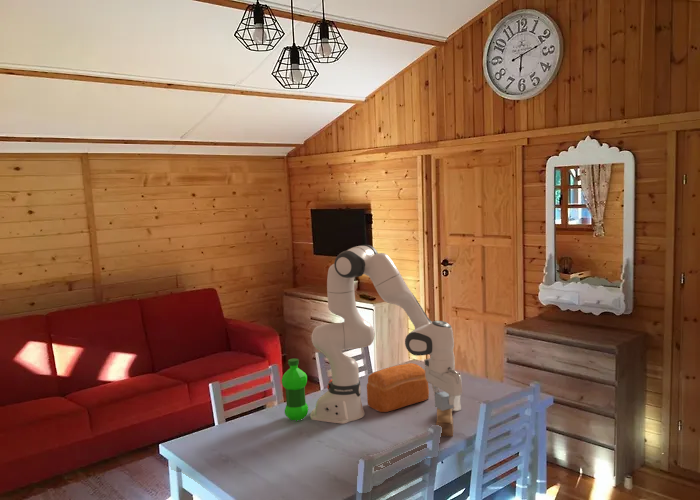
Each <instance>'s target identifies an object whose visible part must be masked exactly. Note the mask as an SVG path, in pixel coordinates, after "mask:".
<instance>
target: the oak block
mask: <svg viewBox="0 0 700 500" xmlns="http://www.w3.org/2000/svg"><path fill="white" fill-rule="evenodd" d="M452 417H453V411H452V409H448V410H443V411H442V410H440V409H438V408H437V407H436V421H437V422H438V423H451V421H452Z"/></svg>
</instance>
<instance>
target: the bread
mask: <svg viewBox="0 0 700 500" xmlns="http://www.w3.org/2000/svg"><path fill="white" fill-rule="evenodd" d="M429 387H430V386H429V383H428V382H427V380H426V377H425V368H423V367H422V366H420V365H418V364H416V363H414V362H413V363H412V362H410V363H405V364H398V365H394V366H390V367H385V368H383V369H380V370H378V371H375V372H372V373H370V374H369V375H368V377H367V384H366V398H367V399H366V400H367V405H368V407H369V408H371V409H373V410H375V411H376V412H379V413H387V412H392V411H395V410H398V409H401V408H404V407H407V406H412V405H414V404H418V403H420V402H423V401H427V400H428V399H429V396H430V394H429V392H430V390H429Z"/></svg>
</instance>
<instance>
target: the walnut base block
mask: <svg viewBox="0 0 700 500" xmlns="http://www.w3.org/2000/svg"><path fill="white" fill-rule="evenodd" d="M436 425H439V426H441V427H442V433H441V436H440V437H453V436H454V430H455V429H454V417H453V416H452V421H451V423H438V422H437V420H436V422H435V426H436Z"/></svg>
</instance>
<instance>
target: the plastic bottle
mask: <svg viewBox="0 0 700 500" xmlns="http://www.w3.org/2000/svg"><path fill="white" fill-rule="evenodd" d="M299 361H300V359H299V358H290V359H288V360H287V364H288V366H289V368H288V369H287V370H286V371H285V372H284V374H283V375H282V378H281V385H282V387H283V388H284V389H285V400H286V401H285V402H286V403H285V404H286V405H285V409H284V415H285V416H286V417H287V418H288V419H290V420H291V421H292V420H296V421H295V422H298V421H297V420H301V419H303V420H304V419H305V418H306V417H307V416H308V412H309V406H308V403H307V402H306V388H305V387H306V386H307V382H308V375H307V374H306V372H304V371H303V370H302V369H300V368H299V367H298V366H299V364H300V363H299ZM301 421H302V420H301Z"/></svg>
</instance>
